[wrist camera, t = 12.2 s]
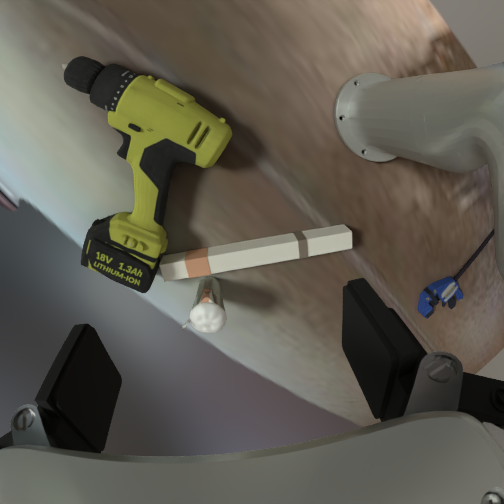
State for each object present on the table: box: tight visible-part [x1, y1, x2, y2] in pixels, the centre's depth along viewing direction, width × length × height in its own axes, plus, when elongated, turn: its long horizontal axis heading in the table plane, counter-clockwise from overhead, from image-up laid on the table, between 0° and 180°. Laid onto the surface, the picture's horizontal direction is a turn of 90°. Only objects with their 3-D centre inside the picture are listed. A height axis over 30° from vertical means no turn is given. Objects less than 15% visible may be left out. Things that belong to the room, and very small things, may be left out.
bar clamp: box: [418, 229, 494, 319], centre depth 47 cm, size 32×2×10 cm
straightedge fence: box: [159, 224, 352, 282], centre depth 41 cm, size 26×3×3 cm, turn 99°
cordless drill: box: [62, 56, 232, 293], centre depth 32 cm, size 7×25×25 cm
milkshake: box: [182, 277, 226, 333], centre depth 39 cm, size 4×5×10 cm
